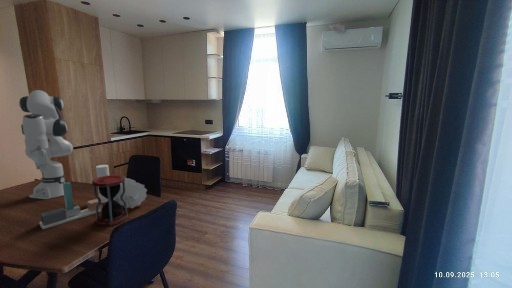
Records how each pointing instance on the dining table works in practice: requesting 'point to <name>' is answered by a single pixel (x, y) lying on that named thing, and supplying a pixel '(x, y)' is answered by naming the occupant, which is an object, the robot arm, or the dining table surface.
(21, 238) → the dining table surface
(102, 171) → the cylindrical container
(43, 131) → the robot arm
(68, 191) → the teal oblong box
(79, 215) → the base board
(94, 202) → the salmon pink block
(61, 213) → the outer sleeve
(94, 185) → the hourglass
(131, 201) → the spiral staircase
